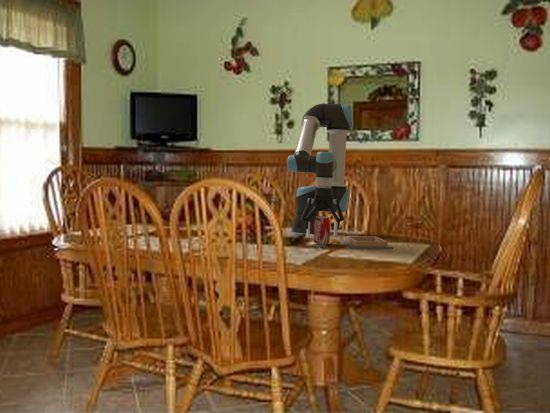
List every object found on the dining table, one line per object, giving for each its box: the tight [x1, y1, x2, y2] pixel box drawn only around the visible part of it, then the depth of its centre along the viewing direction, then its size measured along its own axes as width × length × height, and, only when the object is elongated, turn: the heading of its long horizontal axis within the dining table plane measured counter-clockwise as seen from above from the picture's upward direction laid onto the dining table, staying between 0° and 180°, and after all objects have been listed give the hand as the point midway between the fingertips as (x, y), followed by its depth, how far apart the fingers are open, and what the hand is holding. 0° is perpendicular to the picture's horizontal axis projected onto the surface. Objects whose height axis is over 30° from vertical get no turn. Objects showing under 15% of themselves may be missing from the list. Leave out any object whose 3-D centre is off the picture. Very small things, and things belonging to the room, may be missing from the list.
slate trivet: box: [339, 235, 394, 250], centre depth 254 cm, size 18×18×3 cm
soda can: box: [313, 215, 331, 246], centre depth 254 cm, size 7×7×12 cm
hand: (321, 236), depth 255 cm, fingers open, 12 cm apart
